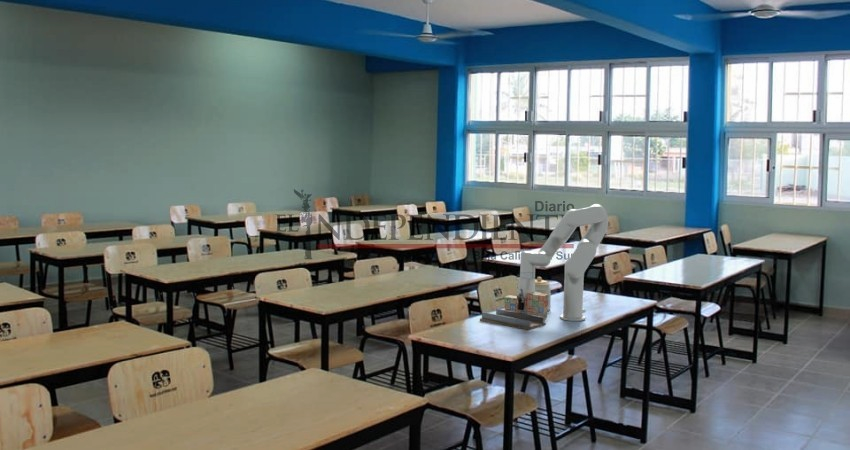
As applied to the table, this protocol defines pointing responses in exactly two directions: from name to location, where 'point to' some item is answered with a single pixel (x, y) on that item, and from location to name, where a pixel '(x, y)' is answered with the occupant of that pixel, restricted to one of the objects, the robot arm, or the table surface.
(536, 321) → the track
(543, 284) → the jar
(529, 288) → the robot arm
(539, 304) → the stack of blocks
